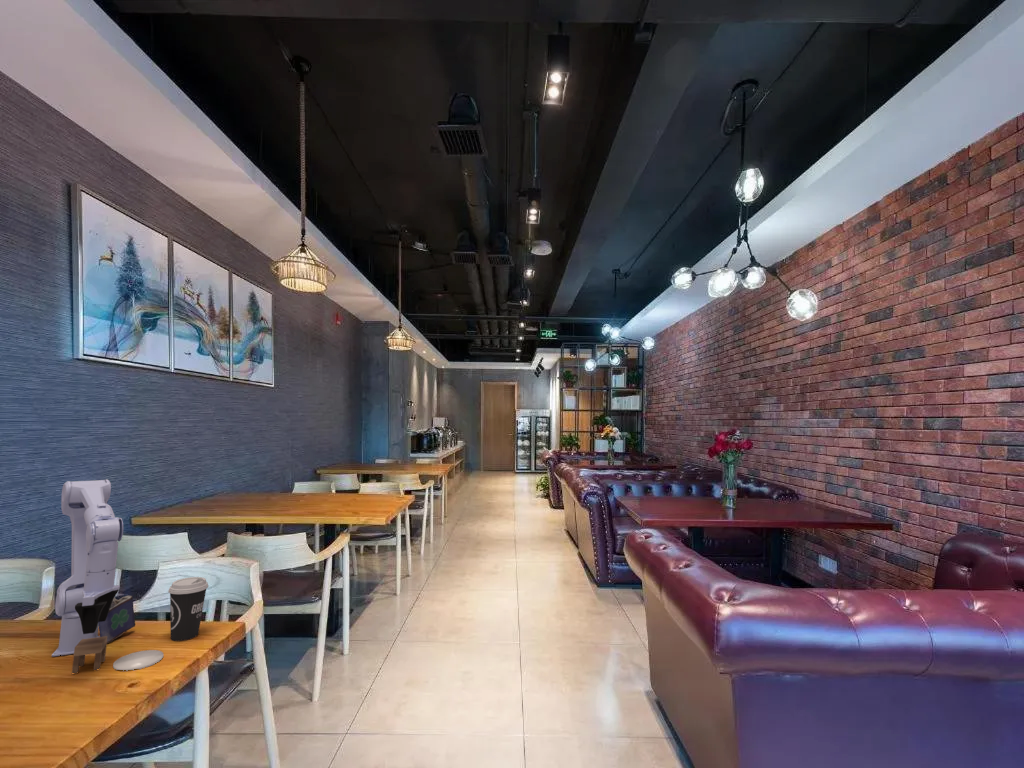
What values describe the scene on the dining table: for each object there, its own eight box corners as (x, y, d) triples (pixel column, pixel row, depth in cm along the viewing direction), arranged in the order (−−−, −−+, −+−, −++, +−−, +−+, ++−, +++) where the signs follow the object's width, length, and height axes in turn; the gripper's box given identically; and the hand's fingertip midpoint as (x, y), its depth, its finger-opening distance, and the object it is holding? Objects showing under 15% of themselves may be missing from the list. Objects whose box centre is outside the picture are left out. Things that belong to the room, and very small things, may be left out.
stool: (78, 665, 119) (81, 639, 119) (104, 661, 121) (107, 635, 122) (71, 674, 114) (74, 647, 115) (98, 670, 117) (101, 643, 117)
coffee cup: (184, 645, 131) (189, 587, 132) (154, 641, 133) (160, 584, 134) (212, 631, 140) (217, 577, 142) (184, 627, 142) (189, 575, 144)
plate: (119, 656, 124) (119, 654, 124) (166, 649, 128) (166, 647, 128) (107, 674, 115) (107, 671, 115) (159, 666, 119) (159, 663, 119)
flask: (105, 645, 130) (101, 608, 129) (96, 644, 131) (92, 607, 129) (138, 624, 139) (134, 589, 138) (129, 623, 140) (125, 588, 138)
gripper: (111, 575, 115) (105, 635, 114) (129, 560, 128) (123, 614, 127) (73, 578, 112) (66, 640, 111) (95, 563, 125) (89, 618, 124)
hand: (94, 627), depth 119 cm, fingers open, 7 cm apart
